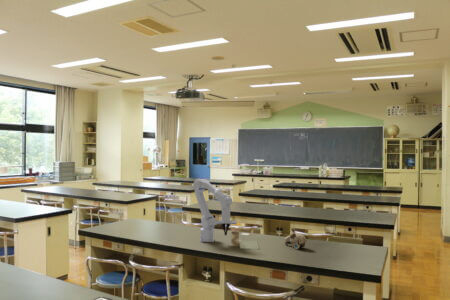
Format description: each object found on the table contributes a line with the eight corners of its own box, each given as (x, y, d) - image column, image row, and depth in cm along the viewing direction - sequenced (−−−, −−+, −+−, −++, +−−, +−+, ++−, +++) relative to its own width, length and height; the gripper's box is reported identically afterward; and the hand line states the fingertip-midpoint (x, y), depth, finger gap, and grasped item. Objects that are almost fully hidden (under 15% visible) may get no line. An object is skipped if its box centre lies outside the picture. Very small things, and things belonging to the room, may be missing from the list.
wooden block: (231, 246, 231) (231, 232, 232) (231, 243, 239) (231, 229, 240) (238, 246, 231) (239, 232, 232) (238, 243, 239) (238, 230, 239)
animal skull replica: (289, 243, 240) (289, 229, 240) (309, 249, 227) (309, 234, 227) (281, 245, 234) (281, 230, 235) (301, 251, 222) (302, 235, 222)
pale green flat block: (239, 248, 225) (240, 246, 225) (238, 240, 245) (238, 238, 245) (259, 248, 225) (259, 246, 225) (256, 241, 245) (256, 239, 245)
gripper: (215, 215, 232) (214, 236, 232) (236, 216, 232) (236, 236, 231) (215, 213, 239) (215, 233, 239) (236, 214, 239) (236, 233, 238)
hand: (225, 234), depth 235 cm, fingers closed
